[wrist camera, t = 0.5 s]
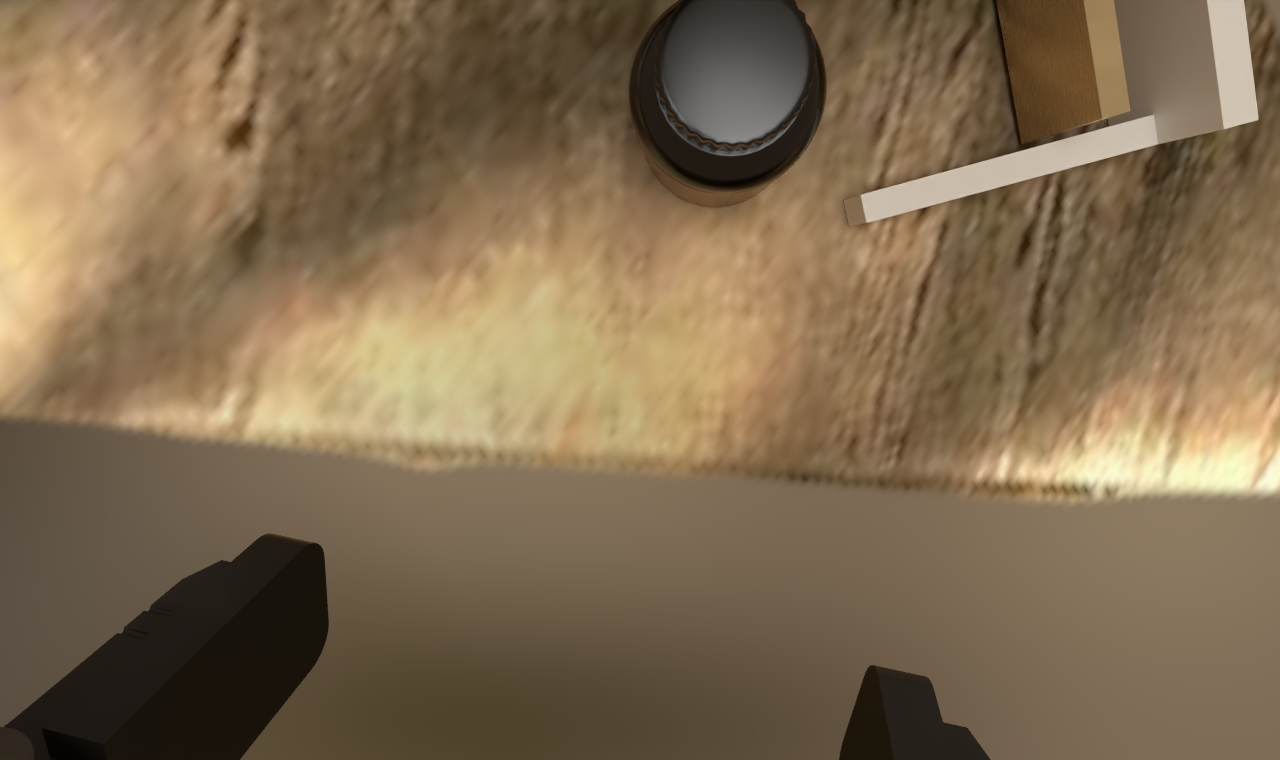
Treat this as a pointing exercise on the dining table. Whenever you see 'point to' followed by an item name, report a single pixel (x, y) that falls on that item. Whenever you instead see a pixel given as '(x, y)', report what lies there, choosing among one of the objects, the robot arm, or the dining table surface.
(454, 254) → the dining table surface
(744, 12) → the supplement bottle
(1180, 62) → the holder
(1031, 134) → the catch plate
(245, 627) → the robot arm
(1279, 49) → the dining table surface
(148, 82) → the dining table surface
